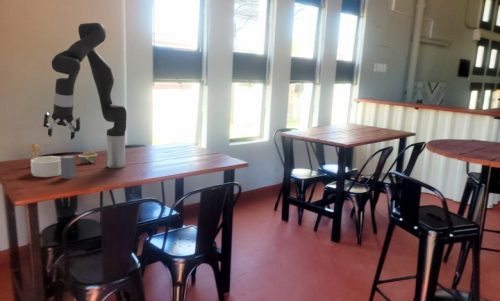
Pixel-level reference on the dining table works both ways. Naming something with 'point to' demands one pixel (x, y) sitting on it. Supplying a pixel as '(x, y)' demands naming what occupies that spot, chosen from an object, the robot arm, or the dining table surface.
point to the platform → (88, 157)
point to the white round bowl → (46, 166)
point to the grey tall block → (68, 167)
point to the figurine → (34, 149)
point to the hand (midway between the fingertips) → (61, 137)
